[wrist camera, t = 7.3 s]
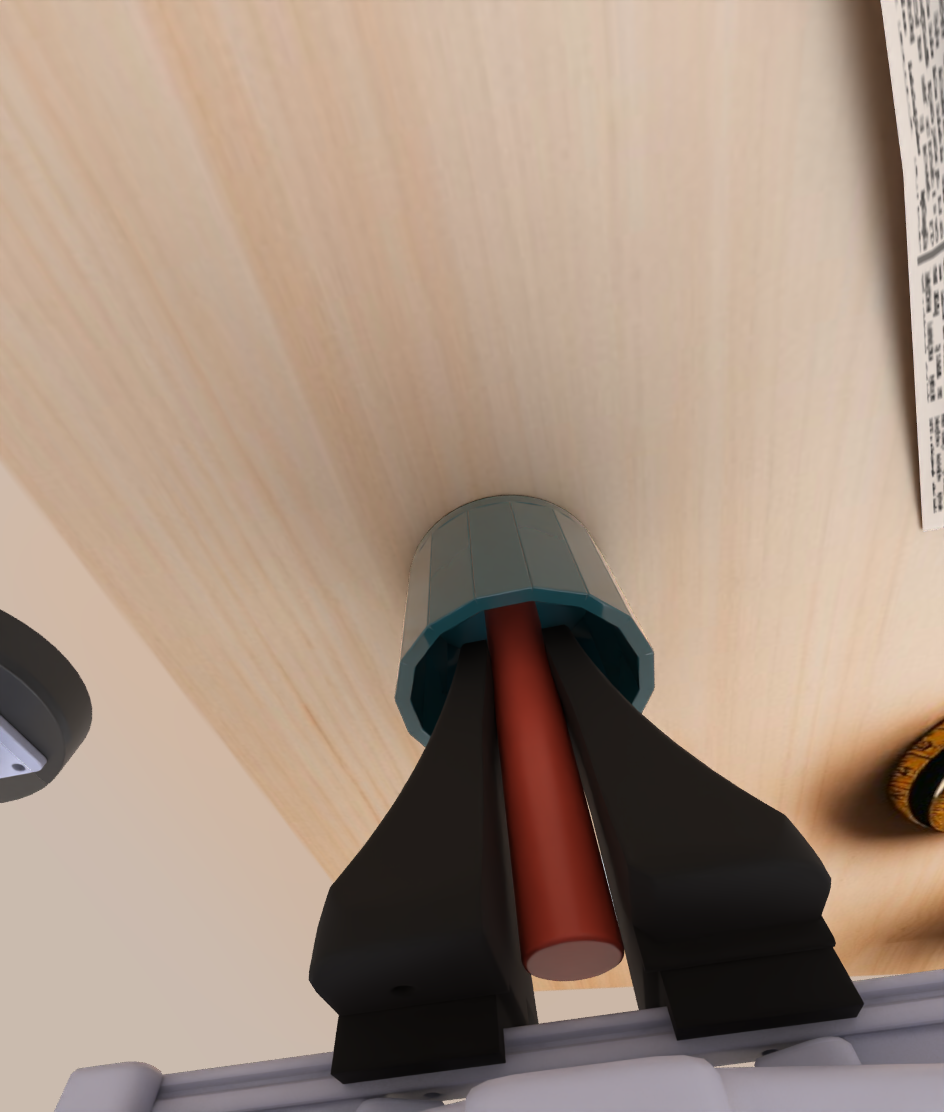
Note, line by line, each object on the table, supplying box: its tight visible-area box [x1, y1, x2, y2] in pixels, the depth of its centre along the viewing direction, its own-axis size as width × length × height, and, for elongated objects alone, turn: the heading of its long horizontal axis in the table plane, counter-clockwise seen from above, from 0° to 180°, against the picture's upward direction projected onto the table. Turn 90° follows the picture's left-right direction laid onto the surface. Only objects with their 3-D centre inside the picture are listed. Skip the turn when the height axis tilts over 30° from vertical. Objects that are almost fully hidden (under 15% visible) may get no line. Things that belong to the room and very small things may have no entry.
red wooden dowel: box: [484, 601, 624, 981], centre depth 11 cm, size 2×2×9 cm
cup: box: [395, 495, 655, 747], centre depth 14 cm, size 6×6×5 cm
